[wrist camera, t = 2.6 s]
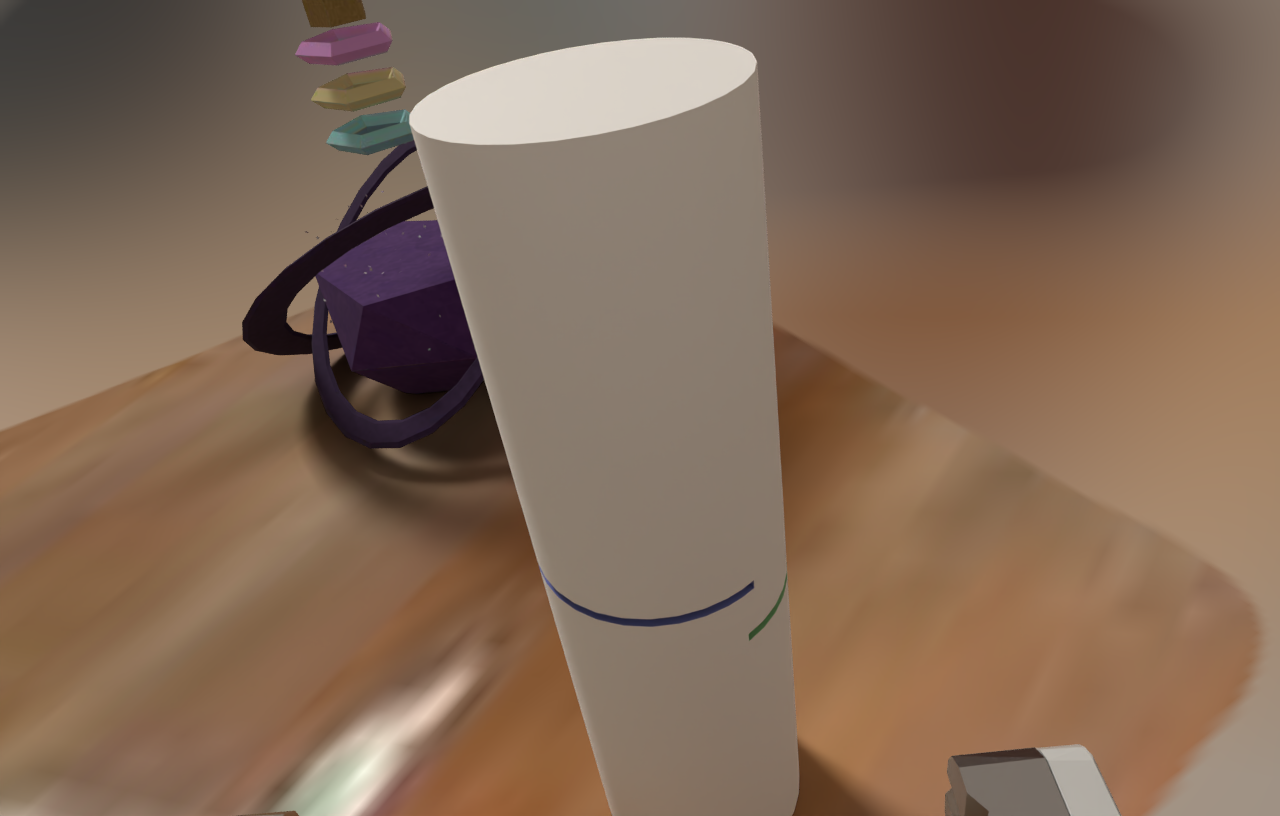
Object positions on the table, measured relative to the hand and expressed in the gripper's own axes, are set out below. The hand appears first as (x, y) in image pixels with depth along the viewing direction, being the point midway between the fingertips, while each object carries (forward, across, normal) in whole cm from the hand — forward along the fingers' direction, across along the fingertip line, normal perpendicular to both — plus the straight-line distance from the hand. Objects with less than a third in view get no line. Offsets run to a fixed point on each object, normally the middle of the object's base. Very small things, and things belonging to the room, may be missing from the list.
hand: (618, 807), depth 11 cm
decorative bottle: (+44, +16, +19) cm, 50 cm away
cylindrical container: (+12, 0, +19) cm, 23 cm away
